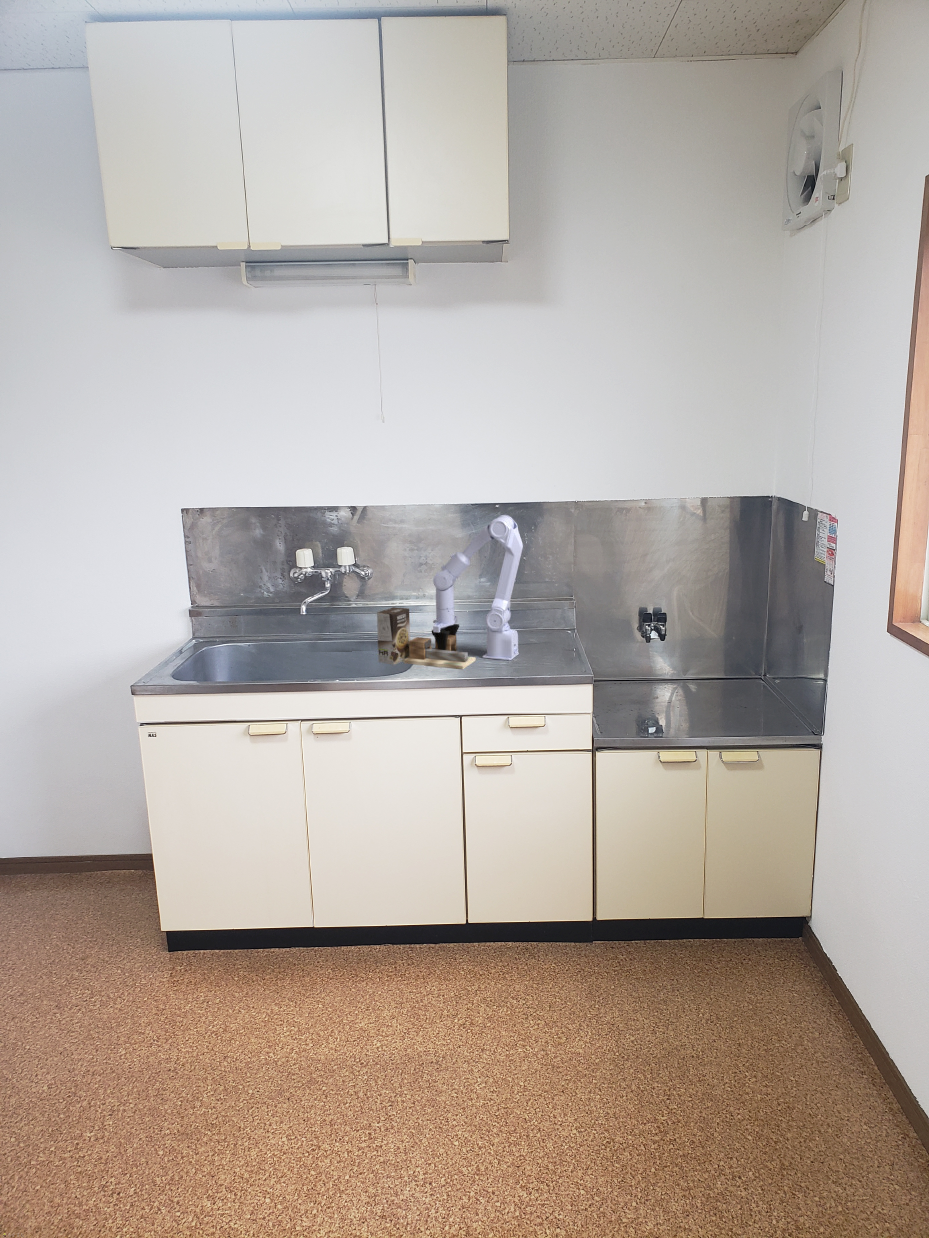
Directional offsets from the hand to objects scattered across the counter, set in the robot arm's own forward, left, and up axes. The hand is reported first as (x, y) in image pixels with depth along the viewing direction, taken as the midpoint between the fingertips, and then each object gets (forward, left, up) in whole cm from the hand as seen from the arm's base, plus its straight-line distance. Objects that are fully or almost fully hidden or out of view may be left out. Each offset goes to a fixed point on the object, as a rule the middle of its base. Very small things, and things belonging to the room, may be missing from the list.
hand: (446, 649), depth 284 cm
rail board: (-2, +9, -1) cm, 10 cm away
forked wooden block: (0, 0, -1) cm, 1 cm away
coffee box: (+12, +12, -2) cm, 17 cm away
